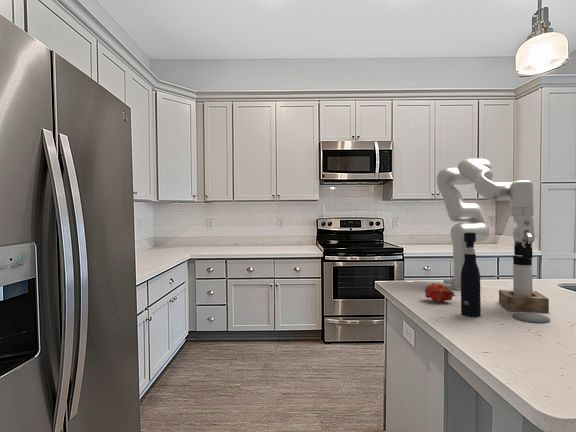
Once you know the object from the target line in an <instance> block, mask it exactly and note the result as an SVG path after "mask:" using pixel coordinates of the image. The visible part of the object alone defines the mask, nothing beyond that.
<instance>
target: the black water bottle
mask: <svg viewBox="0 0 576 432" xmlns="http://www.w3.org/2000/svg"><path fill="white" fill-rule="evenodd" d="M464 242H466V248H474V247H475V243H477V242H476V233H464ZM465 251H466V252H465V253H466V254H464V260H465V261H464V264H463V267H462V271H461V290H460V309H461V310H460V314H461V315H462V316H463V317H467V318H479V317H481V316H482V315H481V314H482V313H481V312H482V311H481V310H482V309H481V274H480V269H479V266H478V264H477V255H476V250H475V248H474V249H465Z"/></svg>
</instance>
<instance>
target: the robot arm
mask: <svg viewBox="0 0 576 432" xmlns="http://www.w3.org/2000/svg"><path fill="white" fill-rule="evenodd" d="M493 178H494V173H493V171H492V164H491V162H490V161H489V160H488V159H486V158H485V159H484V158H465V159H462V160H461V161H459V163H458V165H457V167H444V168H442V169H441V170H440V171H438V173H437V176H436V185H437V189H438V191H439V193H440V195H441V196H442V199H443V203H444V205H445V209H446V212H447V215H448V218H449V220H451V221H452V222H453V223H454V222H455V223H456V224H454V225H452V227H451V228H450V238H451V242H452V255H453V260H452V261H453V265H452V266H453V268H452V269H453V277H451V278H450V279H442V283H443V284H447V285H449V286H450V288H451V289H452V290H456V291H461V271H462V267H463V264H464V261H465V260H464V254H466V253H465V252H466V251H465V249H475V248H466V242H464V233H476V242H475V243H483V242H486V241H487V240H488V239H489V237H490V228H489V226H488V222H487V220H486V216H485V213H484V211H483V208H482V207H481V206H480V205H479V204H478V203H475V202H465V200H464V198H463V195H462V193H461V192H460V190H459V189H458V188H457V187H456V186H459V185H460V186H461V185H471V184H474V185H473V186H474V189H475V191H476V193H477V194H478V195H480V196H481V197H482V198H484V199H486V200H488V201H493V202H495V201H496V202H497V201H498V202H499V201H501V202H502V201H503V202H505V201H506V202H509V203H510V205H509V206H510V217H513V219H512V237H513V240H514V242H513V249H514V255H513V256H521V257H522V258H532V259H533V243H534V242H535V240H536V239H535V238H536V237H535V227H534V226H535V225H534V219H533V217H534V214H535V213H534V185H533V182H532V181H531V180H514V181H512V182H510V181H509V182H507V181H497V182H495V181H492V180H493ZM454 185H456V186H454Z"/></svg>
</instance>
